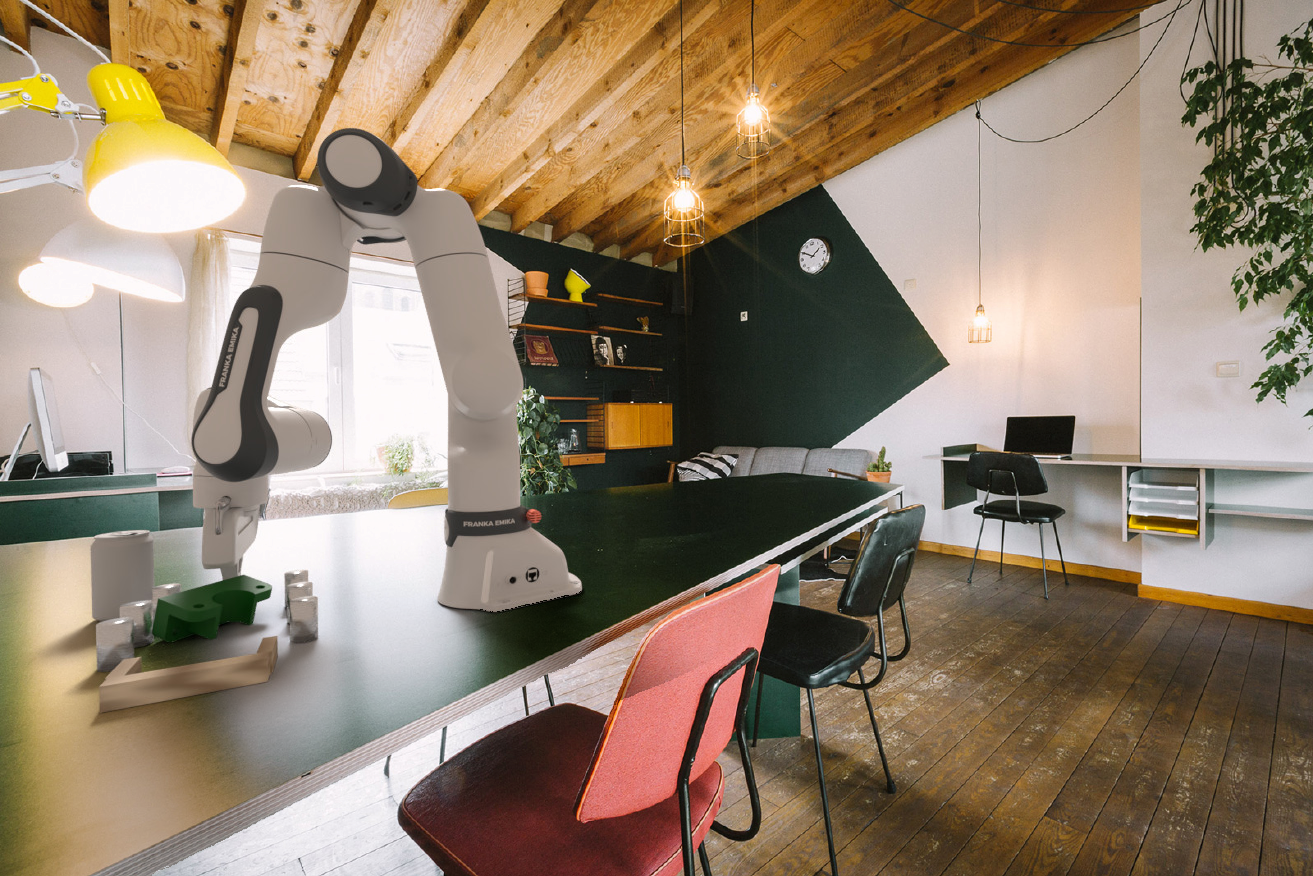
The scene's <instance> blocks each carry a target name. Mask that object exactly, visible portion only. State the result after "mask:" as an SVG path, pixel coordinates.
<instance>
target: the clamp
mask: <svg viewBox="0 0 1313 876" xmlns="http://www.w3.org/2000/svg"><path fill="white" fill-rule="evenodd" d="M272 591H273V585H271V584H270V583H268V582H264V581H262V580H259V579H257V578H254V577H252V576H249V575H246V574H241V575H240V576H237V577H233V578H229V579H226V580H222V579H221V580H219V581H216V582H211V583H208V584H205V585H201V586H198V587H194V588H190V589H186V590H182V591H181V592H179V593H175V594H172V595H168V596H165V597H161V598H158V601H157V607H156V612H155V618H154V623H153V629H152V634H153V635H154V638H155V637H156V638H158V639H160V640H162V641H165V642H167V643H170V642H171V643H173V642H172V641H174V642H176V640H177V641H179V640H182V639H184V638H188V637H190V636H193V635H199V636H201V637H203V638H205V639H208V640H215V639H216V638H217V637H218V631H219V626H222V625H224V624H227V623H241V624H244V625H247V626H251V625H254V620H255V617H256V616H255V615H256V610H257V607H258V606H257V604H258V603H259V602H262V601H266V600H268V599H270V598H271V595H272ZM250 624H251V625H250Z"/></svg>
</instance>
